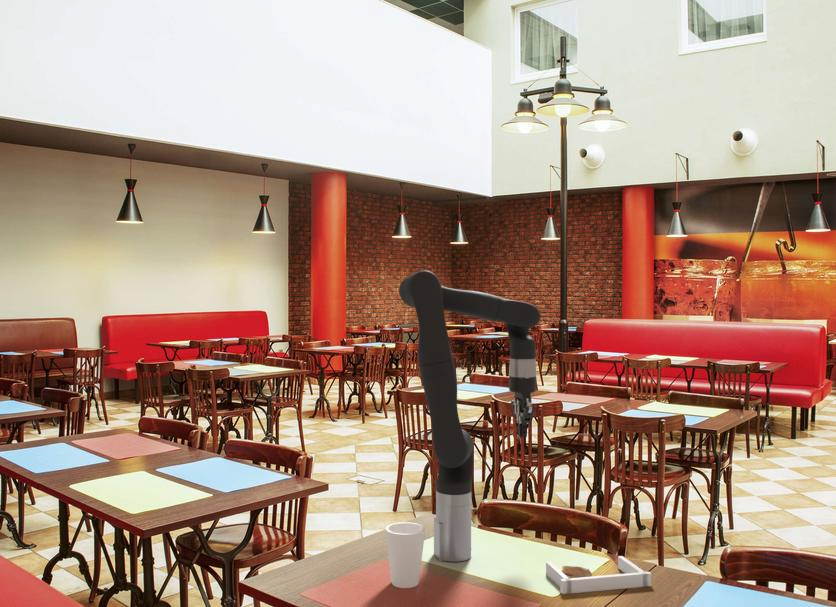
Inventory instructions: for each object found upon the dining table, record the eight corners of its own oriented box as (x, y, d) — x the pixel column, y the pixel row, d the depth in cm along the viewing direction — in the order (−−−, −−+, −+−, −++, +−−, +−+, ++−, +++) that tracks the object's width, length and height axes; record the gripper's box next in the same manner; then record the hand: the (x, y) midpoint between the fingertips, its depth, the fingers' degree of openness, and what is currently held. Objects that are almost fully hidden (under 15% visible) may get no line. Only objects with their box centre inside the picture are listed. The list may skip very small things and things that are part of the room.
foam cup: (430, 578, 179) (430, 524, 179) (417, 592, 170) (417, 536, 170) (393, 573, 182) (393, 520, 182) (379, 587, 173) (379, 532, 173)
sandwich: (595, 591, 173) (595, 583, 173) (561, 589, 174) (561, 581, 174) (589, 574, 183) (589, 566, 183) (558, 572, 184) (558, 565, 184)
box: (562, 594, 170) (562, 581, 170) (542, 574, 181) (542, 562, 181) (651, 586, 174) (651, 573, 174) (625, 567, 186) (625, 555, 186)
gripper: (502, 372, 212) (501, 433, 212) (518, 377, 199) (518, 442, 199) (526, 372, 214) (526, 432, 214) (544, 376, 201) (544, 440, 201)
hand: (522, 436), depth 206 cm, fingers closed
